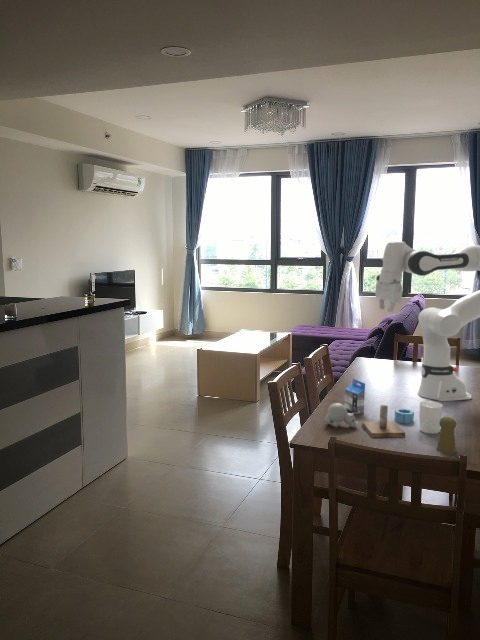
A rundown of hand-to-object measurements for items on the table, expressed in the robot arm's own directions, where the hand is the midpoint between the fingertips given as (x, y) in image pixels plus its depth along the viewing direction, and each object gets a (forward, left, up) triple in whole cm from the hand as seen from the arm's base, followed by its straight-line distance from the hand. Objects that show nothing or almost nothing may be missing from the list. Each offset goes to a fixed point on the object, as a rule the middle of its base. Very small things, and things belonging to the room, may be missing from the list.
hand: (385, 310), depth 232 cm
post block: (+14, +42, -39) cm, 59 cm away
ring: (+2, +31, -39) cm, 50 cm away
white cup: (-3, +43, -39) cm, 58 cm away
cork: (-1, +61, -39) cm, 72 cm away
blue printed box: (+18, +18, -39) cm, 47 cm away
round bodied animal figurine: (+28, +36, -39) cm, 60 cm away
